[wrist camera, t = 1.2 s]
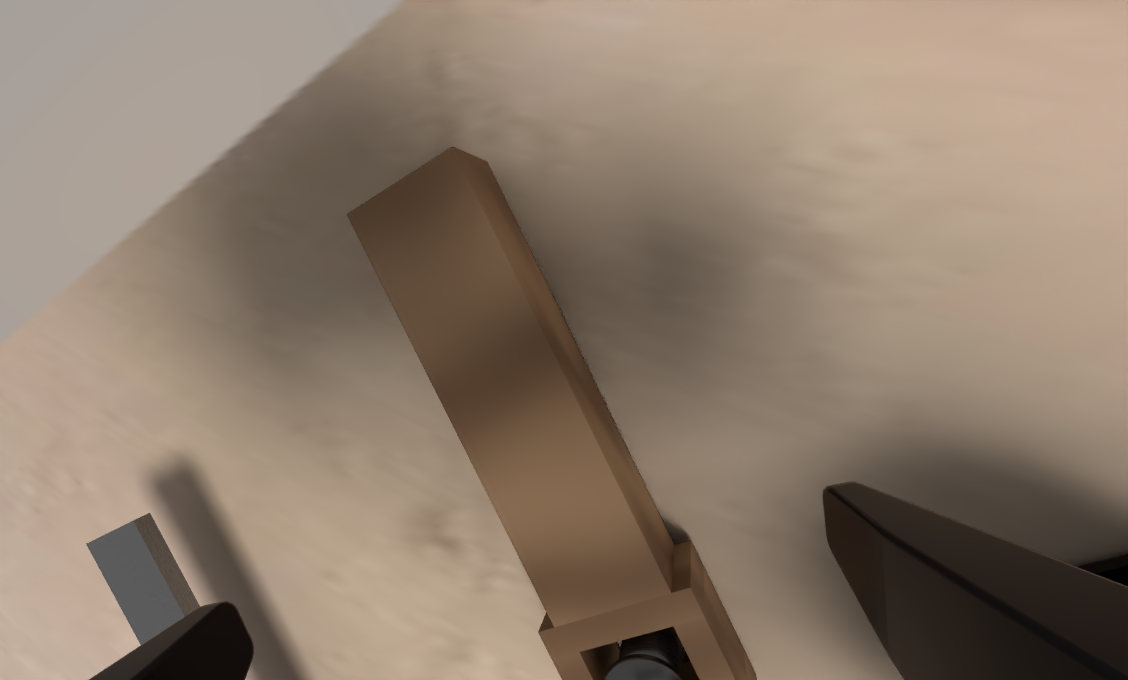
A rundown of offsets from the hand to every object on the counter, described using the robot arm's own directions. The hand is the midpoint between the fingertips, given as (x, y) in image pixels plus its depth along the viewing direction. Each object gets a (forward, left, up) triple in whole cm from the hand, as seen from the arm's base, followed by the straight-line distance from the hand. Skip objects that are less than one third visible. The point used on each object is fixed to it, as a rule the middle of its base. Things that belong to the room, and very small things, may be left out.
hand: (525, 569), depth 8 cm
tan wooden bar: (+3, +1, -10) cm, 11 cm away
